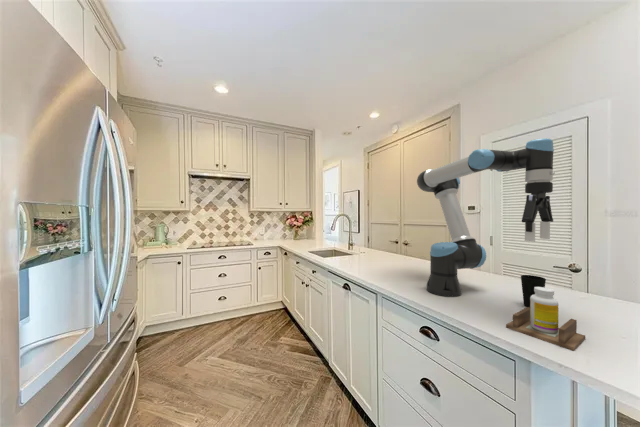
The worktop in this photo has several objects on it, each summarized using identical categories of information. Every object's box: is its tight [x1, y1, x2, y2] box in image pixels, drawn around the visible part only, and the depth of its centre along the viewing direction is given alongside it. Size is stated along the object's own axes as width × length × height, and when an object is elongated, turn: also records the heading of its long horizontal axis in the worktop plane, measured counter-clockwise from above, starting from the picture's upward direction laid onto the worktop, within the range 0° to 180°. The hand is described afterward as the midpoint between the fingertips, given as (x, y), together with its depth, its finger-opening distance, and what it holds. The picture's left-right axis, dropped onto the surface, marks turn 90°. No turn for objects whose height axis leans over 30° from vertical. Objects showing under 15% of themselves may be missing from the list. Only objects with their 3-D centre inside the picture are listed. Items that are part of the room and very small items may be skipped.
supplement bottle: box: [530, 287, 559, 333], centre depth 77 cm, size 7×7×13 cm
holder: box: [505, 306, 586, 352], centre depth 77 cm, size 16×12×5 cm
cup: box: [520, 274, 547, 308], centre depth 99 cm, size 8×8×12 cm
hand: (537, 240), depth 89 cm, fingers open, 13 cm apart
